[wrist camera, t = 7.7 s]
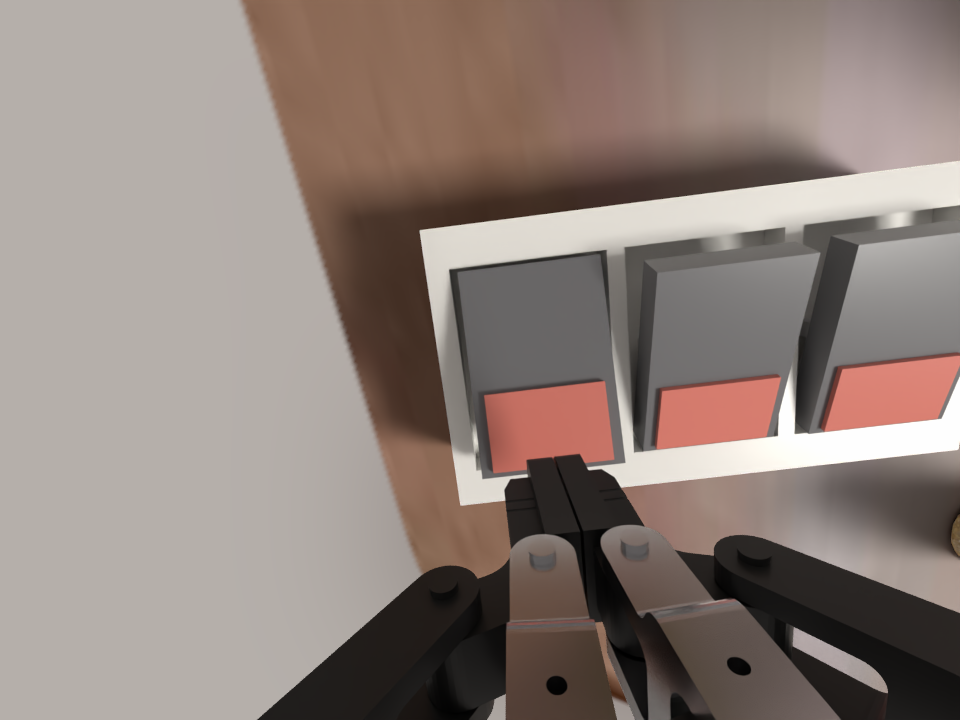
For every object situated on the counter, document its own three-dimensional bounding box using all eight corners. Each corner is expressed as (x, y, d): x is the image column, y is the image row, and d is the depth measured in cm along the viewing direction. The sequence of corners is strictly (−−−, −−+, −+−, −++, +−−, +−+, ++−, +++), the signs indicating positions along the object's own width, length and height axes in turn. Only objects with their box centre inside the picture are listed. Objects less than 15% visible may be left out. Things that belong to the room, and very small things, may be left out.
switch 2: (984, 216, 15) (1032, 226, 13) (913, 401, 18) (946, 422, 17) (830, 235, 15) (864, 246, 14) (788, 415, 18) (812, 437, 17)
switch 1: (592, 261, 17) (601, 252, 15) (616, 455, 17) (627, 464, 15) (459, 278, 17) (457, 270, 15) (483, 470, 17) (482, 480, 15)
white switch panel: (868, 178, 20) (998, 155, 15) (851, 403, 23) (958, 449, 18) (434, 233, 21) (419, 230, 16) (464, 448, 23) (460, 505, 18)
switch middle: (795, 241, 15) (825, 254, 13) (755, 416, 18) (776, 440, 17) (643, 260, 15) (660, 275, 14) (633, 430, 18) (645, 454, 17)
